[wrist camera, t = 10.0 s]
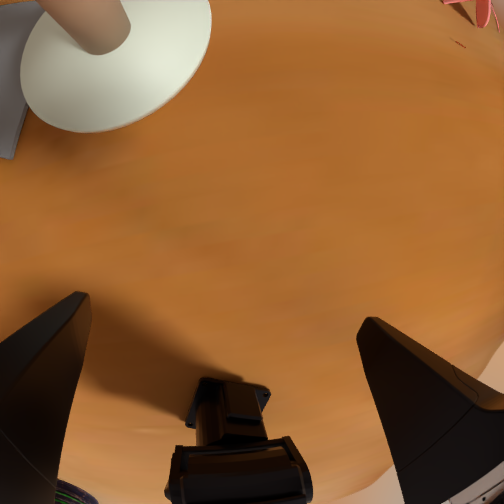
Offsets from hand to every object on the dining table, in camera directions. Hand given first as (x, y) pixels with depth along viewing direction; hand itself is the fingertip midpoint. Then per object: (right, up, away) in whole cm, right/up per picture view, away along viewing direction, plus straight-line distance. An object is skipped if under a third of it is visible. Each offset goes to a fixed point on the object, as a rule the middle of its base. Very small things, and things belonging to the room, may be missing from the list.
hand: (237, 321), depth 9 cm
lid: (-8, +14, +4) cm, 17 cm away
